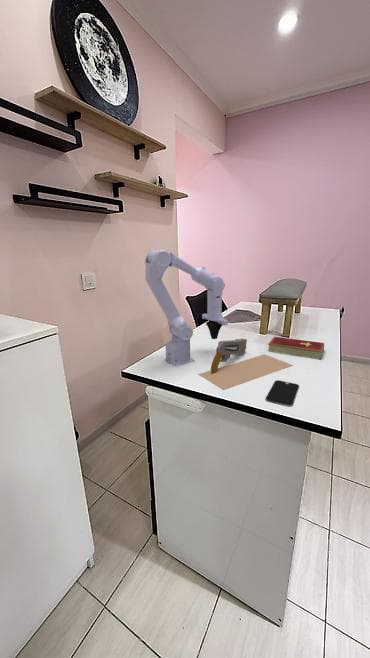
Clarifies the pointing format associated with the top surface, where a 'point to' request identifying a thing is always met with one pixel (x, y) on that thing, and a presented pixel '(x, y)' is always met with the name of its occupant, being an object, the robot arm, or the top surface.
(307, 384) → the top surface
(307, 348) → the hardcover book
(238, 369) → the mat
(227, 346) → the gun
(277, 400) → the smartphone
